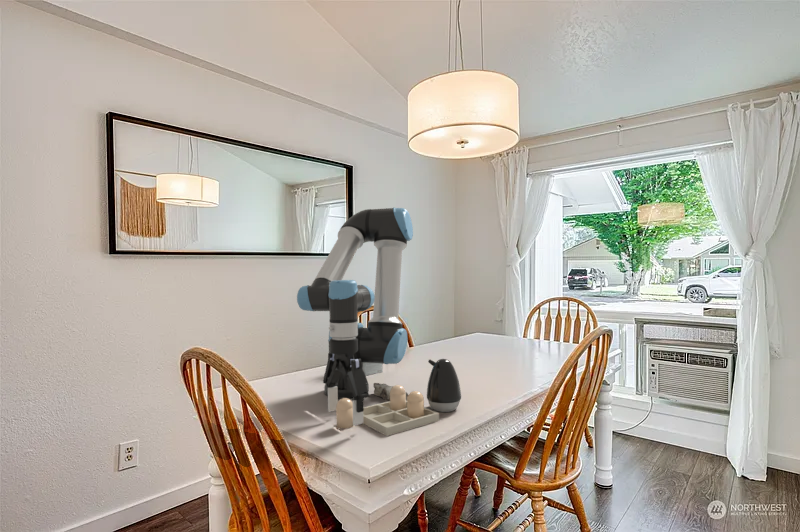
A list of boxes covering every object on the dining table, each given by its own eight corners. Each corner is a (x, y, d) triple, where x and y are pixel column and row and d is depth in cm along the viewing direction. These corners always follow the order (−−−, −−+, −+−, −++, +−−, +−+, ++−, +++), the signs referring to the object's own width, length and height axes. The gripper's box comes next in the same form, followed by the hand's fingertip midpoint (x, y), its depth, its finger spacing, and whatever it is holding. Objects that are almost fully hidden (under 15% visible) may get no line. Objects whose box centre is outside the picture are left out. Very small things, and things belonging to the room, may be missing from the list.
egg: (333, 426, 120) (333, 397, 120) (348, 423, 122) (347, 394, 122) (341, 431, 116) (341, 401, 116) (357, 427, 119) (356, 398, 119)
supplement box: (351, 372, 182) (350, 330, 182) (368, 368, 188) (368, 328, 188) (365, 376, 174) (364, 333, 174) (383, 372, 181) (382, 330, 181)
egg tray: (351, 419, 125) (351, 410, 125) (401, 406, 136) (401, 398, 136) (387, 437, 111) (386, 427, 111) (439, 422, 122) (439, 413, 122)
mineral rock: (414, 402, 140) (414, 388, 140) (392, 407, 136) (392, 392, 136) (391, 391, 153) (391, 379, 153) (370, 395, 149) (370, 382, 149)
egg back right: (404, 419, 123) (403, 391, 123) (417, 415, 126) (416, 388, 126) (414, 423, 119) (414, 394, 119) (427, 420, 122) (427, 391, 122)
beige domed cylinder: (387, 411, 130) (386, 384, 130) (399, 408, 133) (399, 382, 133) (396, 415, 126) (395, 388, 126) (409, 412, 129) (408, 385, 129)
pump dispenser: (438, 402, 139) (438, 354, 139) (467, 408, 133) (467, 358, 133) (419, 411, 132) (418, 359, 132) (449, 418, 125) (448, 364, 125)
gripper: (310, 333, 127) (311, 408, 127) (355, 345, 107) (357, 433, 107) (334, 331, 131) (335, 403, 131) (381, 342, 111) (382, 426, 111)
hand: (345, 417), depth 119 cm, fingers open, 13 cm apart
